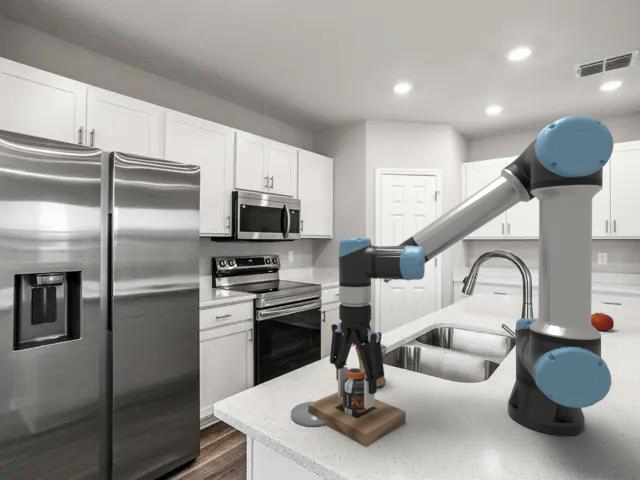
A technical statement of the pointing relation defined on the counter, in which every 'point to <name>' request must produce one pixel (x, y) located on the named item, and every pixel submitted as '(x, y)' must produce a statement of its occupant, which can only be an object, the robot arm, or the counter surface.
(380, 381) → the mug
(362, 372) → the pill bottle
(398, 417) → the socket block
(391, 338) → the counter surface
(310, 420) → the coaster
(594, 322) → the tomato
